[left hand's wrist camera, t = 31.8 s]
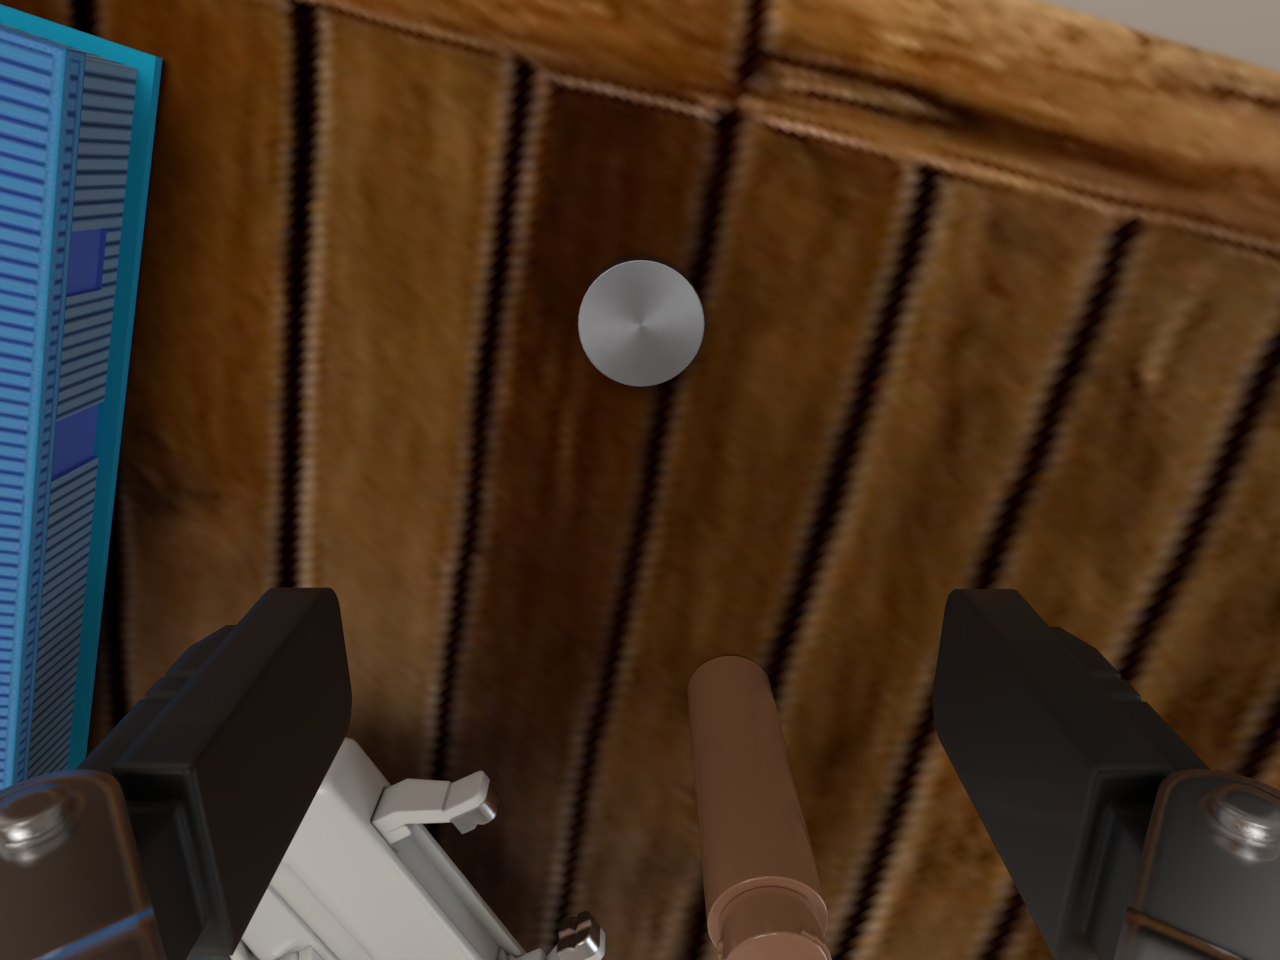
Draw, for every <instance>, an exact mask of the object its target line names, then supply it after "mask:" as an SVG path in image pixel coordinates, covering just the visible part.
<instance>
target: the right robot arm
mask: <svg viewBox="0 0 1280 960" xmlns="http://www.w3.org/2000/svg"><path fill="white" fill-rule="evenodd" d="M500 800H501V795H500V793H499V792H498V790H497V789H496V788H495V786H494V785H493V784H492V782H491V781H490V779H489V778H488V777H487V775H486V774H485V773H484V772H483V771H477V772H475V773H473V774H471V775H469V776H466V777H464V778H462V779H460V780H458V781H455V782H453V783H451V782H450V781H439V780H424V779H409V778H407V779H405V780H403V781H401V782H399V783H396V784H394V785H392V786H391V784H390V783H389V782H388V781H387V779H386V778H385V777H384V776H383V774H382V773H381V772H380V771H379V769H378V768H377V767H376V766H375V765H374V763H373V762H372V761H371V760H370V758H369V757H368V756H367V755H366V753H365V752H364V751H363V749H362V748H361V747H360V746H359V744H358V743H357V742H356V741H355V740H353V739H351V738H347V737H345V739H344V741H343V743H342V745H341V747H340V749H339V751H338V753H337V755H336V757H335V758H334V760H333V762H332V764H331V766H330V768H329V770H328V772H327V774H326V776H325V778H324V780H323V782H322V784H321V786H320V787H319V789H318V791H317V793H316V795H315V797H314V799H313V801H312V803H311V805H310V807H309V809H308V811H307V813H306V815H305V816H304V818H303V820H302V822H301V824H300V826H299V828H298V830H297V832H296V834H295V836H294V838H293V840H292V842H291V844H290V845H289V847H288V849H287V851H286V853H285V855H284V857H283V859H282V861H281V863H280V865H279V867H278V869H277V871H276V873H275V874H274V876H273V878H272V880H271V882H270V884H269V886H268V888H267V890H266V892H265V894H264V896H263V898H262V900H261V902H260V903H259V905H258V907H257V909H256V911H255V913H254V915H253V917H252V919H251V921H250V923H249V925H248V927H247V929H246V931H245V932H244V934H243V936H242V938H241V940H240V942H239V944H238V946H237V948H236V950H235V952H234V954H233V956H188V957H187V959H186V960H601V959H602V958H603V956H604V953H605V933H604V931H603V930H602V929H601V927H600V926H599V925H598V923H597V922H596V921H595V919H594V918H593V917H592V916H591V914H590V913H589V912H587V911H584V912H581V913H579V914H578V916H577V917H569V918H567V919H565V920H562V921H560V922H559V930H558V935H559V940H558V941H557V945H556V946H555V947H554V948H553V950H552V951H551V952H550V953H549V954H548V955H547V956H546V953H545V952H544V950H543V949H541V948H538V949H536V950H533V951H531V952H528V953H526V952H525V951H524V949H523V948H522V947H521V946H520V944H519V943H518V942H517V941H516V939H515V938H514V937H513V936H512V934H511V933H510V932H509V931H508V929H507V928H506V927H505V926H504V925H503V923H502V922H501V921H500V920H499V918H498V917H497V916H496V915H495V913H494V912H493V911H492V910H491V909H490V907H489V906H488V905H487V904H486V902H485V901H484V900H483V899H482V897H481V896H480V895H479V894H478V892H477V891H476V890H475V889H474V887H473V886H472V885H471V884H470V882H469V881H468V880H467V879H466V877H465V876H464V875H463V874H462V872H461V871H460V870H459V869H458V868H457V866H456V865H455V864H454V863H453V861H452V860H451V859H450V858H449V856H448V855H447V854H446V853H445V851H444V850H443V849H442V848H441V846H440V845H439V844H438V843H437V841H436V840H435V839H434V838H433V837H432V835H431V834H430V833H429V832H428V830H427V829H426V828H425V827H424V825H423V824H422V823H449V822H452V823H453V824H454V825H455V827H456V828H457V829H458V830H459V831H460V833H461V834H464V833H466V832H469V831H471V830H473V829H475V827H476V826H477V824H480V825H484V824H486V823H488V822H490V821H491V820H493V819H494V817H495V816H496V815H497V813H498V809H499V807H498V802H499V801H500Z"/></svg>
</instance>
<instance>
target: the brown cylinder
mask: <svg viewBox="0 0 1280 960" xmlns="http://www.w3.org/2000/svg"><path fill="white" fill-rule="evenodd" d="M687 702H688V713H689V724H690V736H691V747H692V758H693V769H694V781H695V792H696V803H697V814H698V826H699V837H700V848H701V859H702V871H703V882H704V893H705V904H706V916H707V927H708V932H709V935H710V938H711V940H712V942H713V943H714V945H715V946H716V947H717V955H718V958H719V960H831V955H830V950H829V948H828V947H827V945H826V943H825V941H824V939H823V938H824V936H825V933H826V931H827V927H828V919H829V918H828V911H827V907H826V903H825V899H824V895H823V891H822V887H821V883H820V879H819V875H818V871H817V867H816V863H815V859H814V855H813V851H812V847H811V843H810V839H809V835H808V831H807V827H806V823H805V819H804V815H803V811H802V808H801V804H800V800H799V796H798V792H797V788H796V784H795V780H794V776H793V772H792V768H791V764H790V760H789V756H788V752H787V748H786V744H785V740H784V736H783V732H782V728H781V724H780V720H779V716H778V712H777V708H776V704H775V701H774V697H773V693H772V689H771V685H770V681H769V678H768V676H767V674H766V673H765V671H764V670H763V669H762V668H761V667H760V666H759V665H758V664H756V663H755V662H753V661H751V660H749V659H747V658H744V657H739V656H721V657H717V658H714V659H711V660H709V661H707V662H705V663H704V664H702V665H701V666H700V667H699V668H698V669H697V670H696V671H695V672H694V673H693V675H692V676H691V678H690V680H689V683H688V686H687Z"/></svg>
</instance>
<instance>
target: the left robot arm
mask: <svg viewBox="0 0 1280 960" xmlns="http://www.w3.org/2000/svg"><path fill="white" fill-rule="evenodd" d="M351 706H352V693H351V684H350V677H349V670H348V663H347V656H346V649H345V641H344V634H343V627H342V620H341V613H340V607H339V602H338V598H337V596H336V594H335V592H334V591H333V590H332V589H331V588H271V589H269V590H268V591H267V592H265V594H264V595H263V596H262V597H261V598H260V599H259V600H258V602H257V603H256V604H255V605H254V606H253V607H252V608H251V609H250V611H249V612H248V613H247V614H246V615H245V616H244V617H243V619H242V620H241V621H240V622H239V623H238V624H237V625H226V626H224V627H223V628H221V629H219V630H218V631H216V632H214V633H213V634H211V635H209V636H208V637H206V638H204V639H203V640H201V641H199V642H197V643H196V644H194V645H192V646H191V647H189V648H188V649H187V651H186V652H185V653H184V654H183V655H182V656H181V657H180V658H179V659H178V660H177V661H176V662H175V663H174V664H173V665H172V666H171V668H170V669H169V670H168V671H167V672H166V676H165V678H160V679H159V680H158V681H157V682H156V684H155V685H154V686H153V687H152V688H151V689H150V690H149V691H148V692H147V693H146V697H145V700H140V701H139V702H138V703H137V704H136V705H135V706H134V707H133V708H132V709H131V710H130V711H129V712H128V713H127V714H126V715H125V717H124V718H123V719H122V720H121V721H120V722H119V723H118V724H117V725H116V726H115V727H114V728H113V729H112V730H111V731H110V733H109V734H108V735H107V736H106V737H105V738H104V739H103V740H102V741H101V742H100V743H99V744H98V745H97V746H96V747H95V748H94V750H93V751H92V752H91V753H90V754H89V755H88V756H87V757H86V758H85V759H84V760H83V761H82V762H81V763H80V764H79V766H78V767H77V768H76V769H70V770H62V771H56V772H51V773H47V774H43V775H39V776H36V777H33V778H29V779H27V780H24V781H21V782H19V783H16V784H13V785H11V786H9V787H7V788H5V789H3V790H1V791H0V960H186V959H187V957H188V956H233V954H234V952H235V950H236V948H237V946H238V944H239V942H240V940H241V938H242V936H243V934H244V932H245V931H246V929H247V927H248V925H249V923H250V921H251V919H252V917H253V915H254V913H255V911H256V909H257V907H258V905H259V903H260V902H261V900H262V898H263V896H264V894H265V892H266V890H267V888H268V886H269V884H270V882H271V880H272V878H273V876H274V874H275V873H276V871H277V869H278V867H279V865H280V863H281V861H282V859H283V857H284V855H285V853H286V851H287V849H288V847H289V845H290V844H291V842H292V840H293V838H294V836H295V834H296V832H297V830H298V828H299V826H300V824H301V822H302V820H303V818H304V816H305V815H306V813H307V811H308V809H309V807H310V805H311V803H312V801H313V799H314V797H315V795H316V793H317V791H318V789H319V787H320V786H321V784H322V782H323V780H324V778H325V776H326V774H327V772H328V770H329V768H330V766H331V764H332V762H333V760H334V758H335V757H336V755H337V753H338V751H339V749H340V747H341V745H342V743H343V741H344V739H345V736H346V733H347V730H348V727H349V722H350V716H351ZM933 715H934V721H935V726H936V730H937V734H938V737H939V739H940V741H941V744H942V746H943V747H944V749H945V751H946V753H947V755H948V757H949V759H950V761H951V763H952V765H953V767H954V768H955V770H956V772H957V774H958V776H959V778H960V780H961V782H962V784H963V786H964V788H965V789H966V791H967V793H968V795H969V797H970V799H971V801H972V803H973V805H974V807H975V809H976V810H977V812H978V814H979V816H980V818H981V820H982V822H983V824H984V826H985V828H986V830H987V832H988V833H989V835H990V837H991V839H992V841H993V843H994V845H995V847H996V849H997V851H998V853H999V854H1000V856H1001V858H1002V860H1003V862H1004V864H1005V866H1006V868H1007V870H1008V872H1009V874H1010V875H1011V877H1012V879H1013V881H1014V883H1015V885H1016V887H1017V889H1018V891H1019V893H1020V895H1021V896H1022V898H1023V900H1024V902H1025V904H1026V906H1027V908H1028V910H1029V912H1030V914H1031V916H1032V917H1033V919H1034V921H1035V923H1036V925H1037V927H1038V929H1039V931H1040V933H1041V935H1042V937H1043V938H1044V940H1045V942H1046V944H1047V946H1048V948H1049V950H1050V952H1051V954H1052V956H1053V958H1054V959H1099V960H1280V791H1279V790H1277V789H1275V788H1273V787H1271V786H1269V785H1267V784H1264V783H1261V782H1259V781H1256V780H1253V779H1251V778H1247V777H1244V776H1241V775H1237V774H1233V773H1229V772H1224V771H1218V770H1210V769H1209V768H1208V766H1207V765H1206V764H1205V763H1204V762H1203V761H1202V760H1201V759H1200V758H1199V757H1198V756H1197V755H1196V754H1195V753H1194V752H1193V751H1192V750H1191V749H1190V747H1189V746H1188V745H1187V744H1186V743H1185V742H1184V741H1183V740H1182V739H1181V738H1180V737H1179V736H1178V735H1177V734H1176V733H1175V732H1174V731H1173V730H1172V728H1171V727H1170V726H1169V725H1168V724H1167V723H1166V722H1165V721H1164V720H1163V719H1162V718H1161V717H1160V716H1159V715H1158V714H1157V713H1156V712H1155V711H1154V709H1153V708H1152V707H1151V706H1150V705H1149V704H1148V703H1147V702H1142V701H1141V696H1140V695H1139V694H1138V693H1137V692H1136V690H1135V689H1134V688H1133V687H1132V686H1131V685H1130V684H1129V683H1128V682H1127V681H1126V680H1121V678H1120V674H1119V673H1118V671H1117V670H1116V669H1115V668H1114V667H1113V666H1112V665H1111V664H1110V663H1109V662H1108V661H1107V660H1106V659H1105V658H1104V657H1103V656H1102V655H1101V654H1100V653H1099V651H1098V650H1097V649H1095V648H1094V647H1092V646H1090V645H1089V644H1087V643H1085V642H1084V641H1082V640H1080V639H1079V638H1077V637H1075V636H1073V635H1072V634H1070V633H1068V632H1067V631H1065V630H1063V629H1062V628H1060V627H1049V626H1048V625H1047V624H1046V623H1045V622H1044V621H1043V619H1042V618H1041V617H1040V616H1039V615H1038V614H1037V613H1036V612H1035V611H1034V609H1033V608H1032V607H1031V606H1030V605H1029V604H1028V603H1027V602H1026V600H1025V599H1024V598H1023V597H1022V596H1021V595H1020V594H1019V593H1018V592H1017V591H1015V590H1013V589H955V590H953V591H952V592H951V593H950V594H949V596H948V599H947V602H946V606H945V612H944V619H943V626H942V633H941V640H940V647H939V654H938V661H937V668H936V675H935V682H934V689H933Z"/></svg>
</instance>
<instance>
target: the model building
mask: <svg viewBox="0 0 1280 960" xmlns="http://www.w3.org/2000/svg"><path fill="white" fill-rule="evenodd" d="M162 60H163V58H160V57H157V56H154V55H151V54H148V53H145V52H142V51H139V50H136V49H133V48H130V47H127V46H124V45H121V44H118V43H115V42H112V41H109V40H106V39H103V38H100V37H97V36H94V35H91V34H88V33H85V32H82V31H79V30H76V29H73V28H70V27H67V26H64V25H61V24H58V23H55V22H52V21H49V20H46V19H43V18H40V17H37V16H34V15H31V14H28V13H25V12H22V11H19V10H16V9H13V8H10V7H7V6H4V5H1V4H0V791H1V790H3V789H5V788H7V787H9V786H11V785H13V784H16V783H19V782H21V781H24V780H27V779H29V778H33V777H36V776H39V775H43V774H47V773H51V772H56V771H62V770H70V769H76V768H77V767H78V766H79V764H80V763H81V762H82V761H83V760H84V759H85V758H86V754H87V745H88V736H89V727H90V717H91V708H92V699H93V690H94V681H95V672H96V663H97V653H98V644H99V635H100V626H101V617H102V608H103V599H104V590H105V580H106V571H107V562H108V553H109V544H110V535H111V526H112V516H113V507H114V498H115V489H116V480H117V471H118V462H119V453H120V443H121V434H122V425H123V416H124V407H125V398H126V389H127V379H128V370H129V361H130V352H131V343H132V334H133V325H134V316H135V306H136V297H137V288H138V279H139V270H140V261H141V252H142V242H143V233H144V224H145V215H146V206H147V197H148V188H149V179H150V169H151V160H152V151H153V142H154V133H155V124H156V115H157V105H158V96H159V87H160V78H161V69H162Z"/></svg>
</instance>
